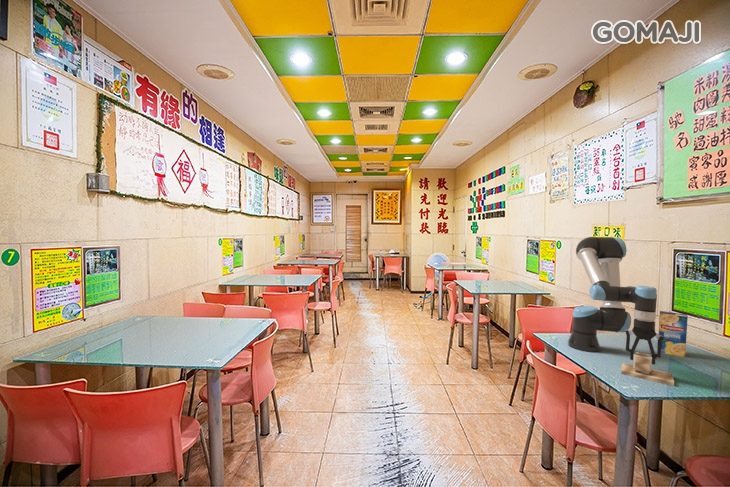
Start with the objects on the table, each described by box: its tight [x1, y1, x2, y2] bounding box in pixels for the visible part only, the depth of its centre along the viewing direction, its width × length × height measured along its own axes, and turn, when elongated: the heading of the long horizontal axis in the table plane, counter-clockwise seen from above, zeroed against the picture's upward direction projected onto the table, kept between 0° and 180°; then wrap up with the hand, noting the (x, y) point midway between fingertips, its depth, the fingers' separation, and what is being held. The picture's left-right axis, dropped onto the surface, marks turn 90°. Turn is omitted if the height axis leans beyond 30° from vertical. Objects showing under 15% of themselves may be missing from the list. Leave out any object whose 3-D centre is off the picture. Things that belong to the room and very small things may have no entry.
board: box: [620, 362, 675, 387], centre depth 150 cm, size 18×12×2 cm, turn 50°
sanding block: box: [635, 351, 651, 374], centre depth 151 cm, size 5×8×7 cm, turn 139°
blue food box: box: [658, 310, 688, 358], centre depth 179 cm, size 7×11×22 cm, turn 49°
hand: (642, 368), depth 151 cm, fingers closed on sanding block, 5 cm apart
